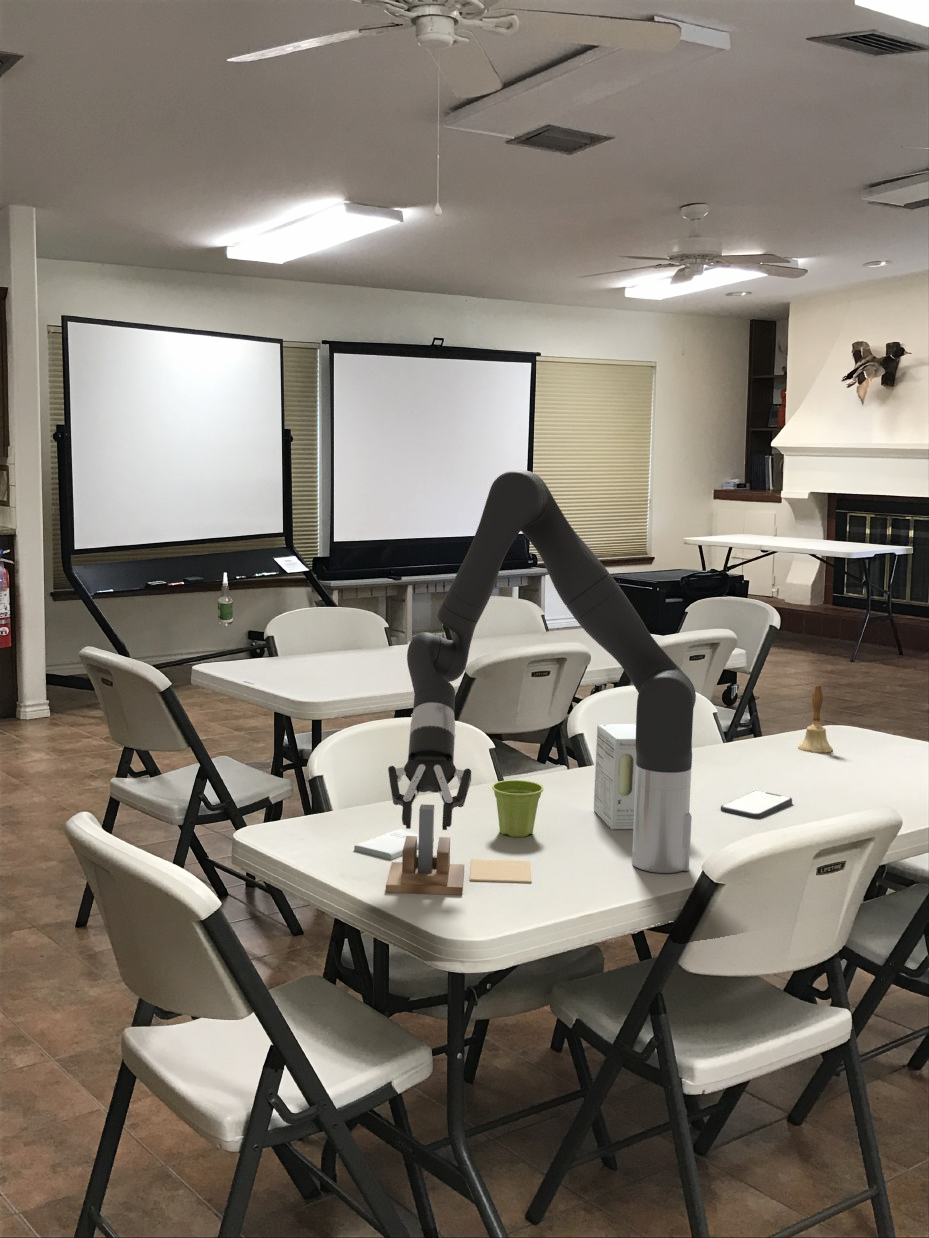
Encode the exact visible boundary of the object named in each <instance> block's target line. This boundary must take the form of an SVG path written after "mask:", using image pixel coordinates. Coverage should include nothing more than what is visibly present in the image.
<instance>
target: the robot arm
mask: <svg viewBox="0 0 929 1238" xmlns="http://www.w3.org/2000/svg"><path fill="white" fill-rule="evenodd" d="M477 526H478V527H477V529H476V532H475V534H474V538H473V540H472V541H471V545H470V546H469V548H468V551H467V553H466V555H465V557H464V559H463V561H462V564H461V565H460V567H459V569H458V571H457V573H456V574H455V577H454V578H453V580H452V582H451V585H450V587H449V589H448V590H447V592H446V595H445V596H444V598H443V601H442V603H441V604H440V607H439V608H438V611H437V615H436V616H437V620H438V621H439V623H441V625H443V626H444V627H445V628H447V629H448V630H450V631H451V632H453V638H452V639H451V640H450V639H447V638H444V637H442V636H439V635H436V634H434V633H431V632H424V631H422V632H419V633H417V634H416V635H415V636H413V638H412V639H410V643H409V645H408V647H407V655H406V662H407V668H408V672H409V676H410V680H411V684H412V688H413V689H412V690H413V693H414V695H413V707H412V708H413V709H412V716H411V721H410V726H409V727H410V729H409V744H408V752H407V761H406V763H405V765H404V767H396V766H394V765H390V766H388V768H387V772H388V780H389V785H390V786H389V787H390V793H391V797H392V798H391V799H392V804H394V806H401V807H402V813H401V821H402V823H401V824H402V825H403V826H405V829H406V830H409V829H410V830H411V829H412V828H411V827H412V817H413V816H412V815H413V813H412V812H413V804H414V802H415V800H416V799H417V797H418V796H419V793H426V792H430V793H436V794H437V793H439V796H440V799H441V801H442V802H443V805H442V808H443V809H442V822H441V823H442V826H441V827H442V831H447V830H448V828H450V827H451V826H452V821H453V818H452V817H453V810H454V808H457V807H458V808H463V807H464V805H465V802H466V799H467V795H468V791H469V789H470V785H471V782H472V770H471V769H470V768H465V769H464V770H463V769H459V768H457V767H456V765H455V764H454V758H455V741H456V721H455V720H456V719H455V709H456V707H455V705H456V690H455V687H454V686H453V684H452V683H451V682H454V681H456V680H457V679H459V678H460V677H461V676H462V675H463V673H464V672H465V670H466V668H467V664H468V659H469V654H470V653H469V652H470V648H471V644H472V639H473V635H474V633H475V630H476V626H477V624H478V622H479V620H480V618H481V617H482V615H483V613H484V610H485V609H486V606H487V605H488V603H489V600H490V599H491V597H492V594H493V591H494V588H495V585H496V582H497V581H498V576H499V573H500V569H501V568H502V565H503V562H504V560H505V557H506V555H507V553H508V551H509V550H510V548H511V546H512V545H513V542H514V541H515V540H516V538H517V537H518V535H519V534H520V532H521V533H522V534H523V535H524V536H525V538H526V539H527V540H528V541H529V542H530V543H531V545H532V546H533V547H534V549H535V550H536V552H537V553H538V554H539V556H540V558H541V560H542V561H543V564H544V566H545V569H546V571H547V574H548V576H549V578H550V580H551V582H552V585H553V586H554V589H555V591H556V592H557V594H558V597H559V598H560V600H561V601H562V602H563V604H564V606H566V609H567V610H568V611H569V612H570V614H571V615H572V616H573V618H574V619H575V621H577V623H578V624H579V626H580V627H581V628H582V629H583V630H584V631H585V632H586V634H588V636H590V638H591V639H593V640H594V641H595V642H596V643H597V644H598V645H599V646H600V647H601V648H602V649H604V650H605V651H606V652H607V653H608V654H609V655H610V656H612V657H613V659H615V660H616V662H617V663H618V664H619V665H620V666H621V668H622V669H623V671H624V672H625V674H626V675H627V676H628V679H630V681H631V682H632V685H633V686H634V688H635V689H636V691H637V693H638V694H637V699H636V717H635V719H636V720H635V724H636V779H635V781H636V782H635V802H634V825H633V829H632V850H631V855H632V856H631V857H632V858H631V863H632V865H633V866H634V867H635V868H638V869H639V870H642V871H646V872H650V873H660V874H673V873H679V872H686V871H687V872H688V871H690V859H691V858H690V857H691V841H692V840H691V839H692V838H691V837H692V836H691V835H692V814H691V812H690V809H691V808H690V806H691V805H690V802H691V785H692V784H691V782H692V767H693V765H692V764H693V725H694V723H693V722H694V707H695V703H696V699H697V693H696V688H695V686H694V684H693V682H692V681H691V679H690V678H689V677H688V675H686V673H685V672H684V671H683V670H682V669H681V668H680V667H679V666H678V665H677V664H676V663H675V662H674V661H673V660H672V658H671V657H670V656H669V655H668V654H667V652H665V651H664V649H663V648H662V647H661V646H660V645H659V643H658V642H657V641H656V640H655V639H654V637H653V636H652V634H651V633H650V631H649V630H648V628H647V627H646V625H645V623H644V621H643V619H642V618H641V617H640V615H639V613H638V611H637V610H636V609H635V608H634V605H633V604H632V603H631V602H630V600H629V598H628V597H627V595H626V594H625V593H624V591H623V589H622V588H621V587H620V585H619V584H618V582H617V581H616V580H615V579H614V577H613V576H612V575H611V574H610V572H609V571H608V569H607V568H606V567H605V566H604V564H603V563H602V562H601V561H600V559H599V558H598V557H597V555H596V554H595V553H594V552H593V551H592V550H591V548H590V547H589V546H588V545H587V544H586V543H585V542H584V540H583V539H582V538H581V537H580V536H579V535H578V534H577V532H576V531H575V530H574V529H573V527H572V526H571V524H570V523H569V521H568V519H567V518H566V516H565V515H564V513H563V511H562V510H561V508H560V506H559V505H558V503H557V501H556V500H555V498H554V496H553V494H552V493H551V491H550V489H549V488H548V486H547V484H546V483H545V481H544V480H543V479H542V478H541V477H540V476H539V475H538V474H537V473H535V472H533V471H530V470H529V471H528V470H522V469H519V470H516V469H514V470H509V471H505V472H504V473H502V474H500V475H499V476H498V477H496V478H495V480H494V481H493V482H492V484H491V486H490V489H489V491H488V495H487V498H486V501H485V504H484V508H483V511H482V514H481V517H480V521H479V523H478V525H477ZM404 776H405V777H406V778H407V780H408V781H409V784H408V786H407V790H406V792H405V793H404V794H401V793H400V788H399V783H400V782H401V781H402V778H403V777H404ZM455 777H456V779H457V783H458V784H459V786H458V790H457V793H456V795H454V796H452V794H451V792H450V791H451V790H450V788H449V785H448V784H449V783H451V782H452V781H453V779H454V778H455Z"/></svg>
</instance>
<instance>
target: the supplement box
mask: <svg viewBox="0 0 929 1238" xmlns="http://www.w3.org/2000/svg"><path fill="white" fill-rule="evenodd" d="M595 748H596V750H595V767H594V768H595V770H594V787H593V788H594V791H593V792H594V795H593V811H594V812H595V813H596V814H597V815H598V816H599V818H601V820H603V822H604V823H605V824H606V825H607V827H609V828H610V830H612V831H613V830H633V825H634V802H635V782H636V781H635V779H636V723H622V724H621V723H619V724H617V723H616V724H615V723H614V724H613V723H611V724H608V723H607V724H604V723H603V724H597V725H596V747H595Z"/></svg>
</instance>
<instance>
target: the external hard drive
mask: <svg viewBox="0 0 929 1238" xmlns="http://www.w3.org/2000/svg"><path fill="white" fill-rule="evenodd" d="M406 836H417V850H418V846H419V832H414V831H411V830H407V829H406V830H405V829H401V828H398V829H395V830H393V831H390V832H387V833H384V834H382V835H380V836H377V837H374V838H371V839H368V840H365V841H363V842H360V843H357V844H355V845H354V846H353V849H354V851H356V852H358V853H359V852H360V853H363V854H368V855H372V856H375V857H379V858H383V859H388V860H390V861H391V860H392V861H393V860H395V859H396V858H397V859H398V858H399V857H401V856H402V851H403V847H404V843H405V839H406ZM433 843H435V838H434V839H433Z"/></svg>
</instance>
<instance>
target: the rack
mask: <svg viewBox="0 0 929 1238" xmlns="http://www.w3.org/2000/svg"><path fill="white" fill-rule="evenodd" d="M436 850H437V851H436V855H433V870H432V874H423V873H418V849H417V836H406V839H405V843H404V847H403V851H402V857H401V858H402V859H401V860H402V861H398V862H397V861H392V862H391V865H390V867H389V868H390V869H389V871H388V876H387V880H386V882H385V893H399V894H401V893H402V894H404V893H405V894H429V895H460V896H462V895H463V891H464V879H465V864H464V863H463V864H462V863H451V837H450V836H439V837H438V843H437V847H436Z"/></svg>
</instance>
